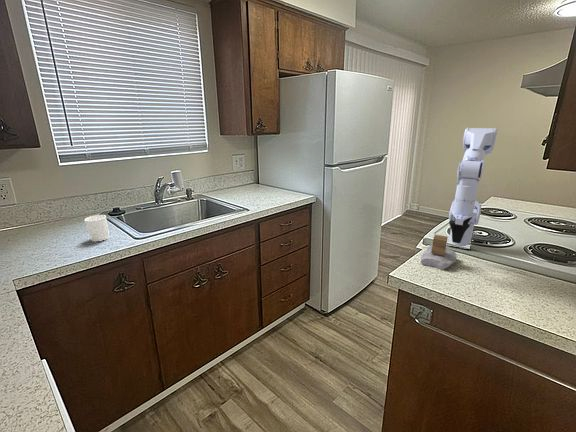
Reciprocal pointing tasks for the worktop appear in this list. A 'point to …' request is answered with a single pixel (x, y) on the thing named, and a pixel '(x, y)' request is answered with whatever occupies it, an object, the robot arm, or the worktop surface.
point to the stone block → (438, 259)
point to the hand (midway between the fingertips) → (457, 238)
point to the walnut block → (439, 244)
